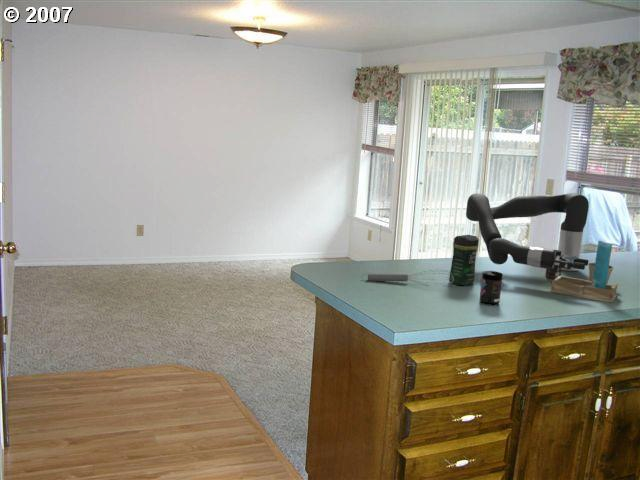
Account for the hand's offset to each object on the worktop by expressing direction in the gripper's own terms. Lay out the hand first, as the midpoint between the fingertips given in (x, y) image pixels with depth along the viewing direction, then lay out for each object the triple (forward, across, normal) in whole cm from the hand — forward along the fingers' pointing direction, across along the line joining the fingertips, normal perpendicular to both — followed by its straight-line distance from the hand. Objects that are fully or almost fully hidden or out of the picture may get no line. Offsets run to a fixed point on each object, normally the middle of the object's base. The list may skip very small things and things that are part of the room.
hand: (586, 264), depth 244 cm
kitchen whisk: (-56, +34, -11) cm, 66 cm away
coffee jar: (-40, +18, -11) cm, 46 cm away
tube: (+5, +1, -10) cm, 11 cm away
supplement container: (-24, +40, -11) cm, 48 cm away
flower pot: (+3, -16, -11) cm, 20 cm away
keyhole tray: (0, 0, -11) cm, 11 cm away
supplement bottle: (-15, -21, -12) cm, 28 cm away
